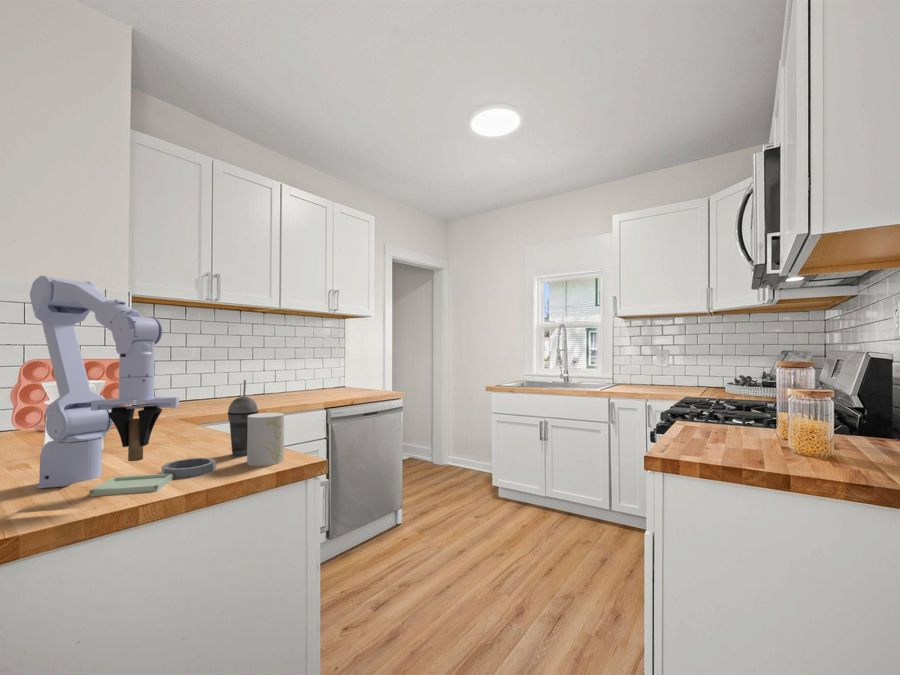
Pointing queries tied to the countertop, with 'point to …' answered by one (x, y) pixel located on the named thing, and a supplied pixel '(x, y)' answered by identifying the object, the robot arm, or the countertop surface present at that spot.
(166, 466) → the ramekin
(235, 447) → the beverage cup
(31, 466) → the countertop surface
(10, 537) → the countertop surface
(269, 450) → the cup
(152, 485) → the tray
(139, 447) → the dowel
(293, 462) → the countertop surface
